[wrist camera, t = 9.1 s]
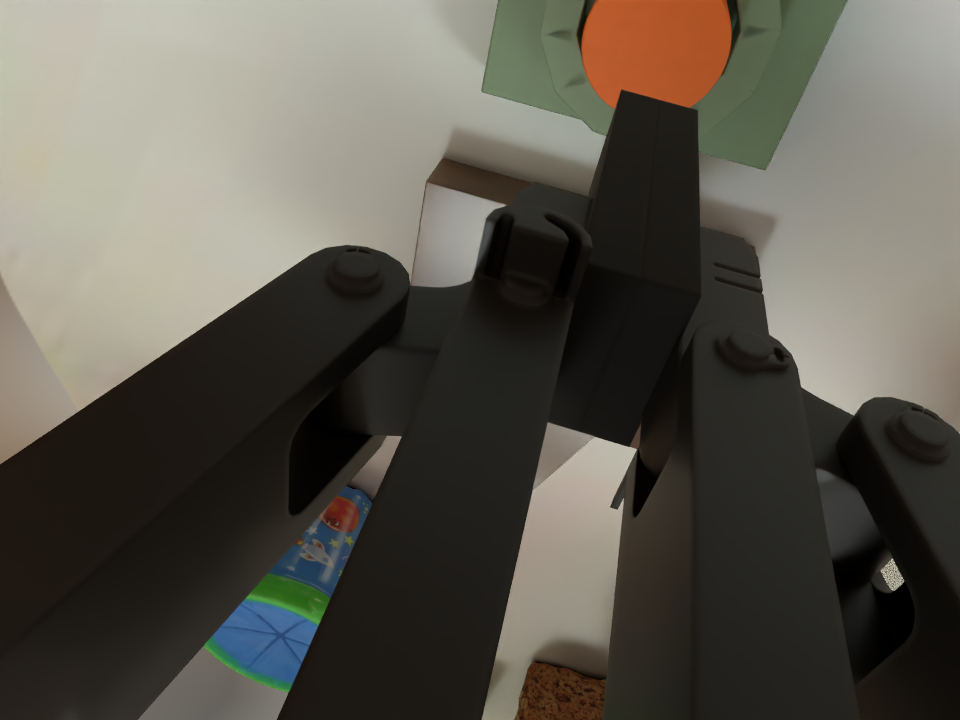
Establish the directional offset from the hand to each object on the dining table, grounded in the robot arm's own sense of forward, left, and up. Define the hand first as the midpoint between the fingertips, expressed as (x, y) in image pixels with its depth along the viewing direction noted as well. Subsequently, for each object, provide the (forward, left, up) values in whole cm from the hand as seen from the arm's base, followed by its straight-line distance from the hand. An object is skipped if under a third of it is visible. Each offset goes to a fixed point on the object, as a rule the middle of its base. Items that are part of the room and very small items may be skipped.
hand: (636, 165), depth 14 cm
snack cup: (+10, +35, -15) cm, 40 cm away
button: (0, 0, -11) cm, 11 cm away
